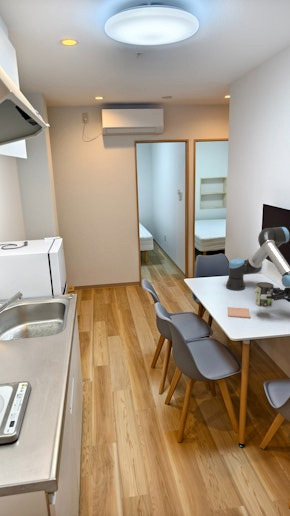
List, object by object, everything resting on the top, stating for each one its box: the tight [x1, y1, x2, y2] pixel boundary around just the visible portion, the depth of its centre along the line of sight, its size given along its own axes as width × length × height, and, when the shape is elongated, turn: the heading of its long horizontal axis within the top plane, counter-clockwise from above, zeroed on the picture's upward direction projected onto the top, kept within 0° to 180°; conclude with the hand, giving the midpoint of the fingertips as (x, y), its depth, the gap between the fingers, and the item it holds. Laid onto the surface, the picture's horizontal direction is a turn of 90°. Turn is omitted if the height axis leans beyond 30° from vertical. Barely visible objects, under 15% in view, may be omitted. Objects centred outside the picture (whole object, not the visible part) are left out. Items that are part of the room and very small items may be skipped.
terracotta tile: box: [227, 306, 251, 319], centre depth 231 cm, size 14×14×1 cm
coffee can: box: [255, 281, 275, 309], centre depth 224 cm, size 10×10×14 cm
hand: (258, 293), depth 224 cm, fingers closed on coffee can, 10 cm apart
